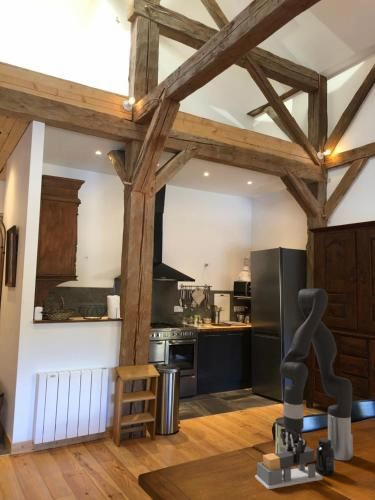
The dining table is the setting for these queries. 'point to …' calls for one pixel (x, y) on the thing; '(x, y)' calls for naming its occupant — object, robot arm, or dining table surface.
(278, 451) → the coffee can
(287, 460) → the grey orange bar
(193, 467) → the dining table surface
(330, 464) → the supplement bottle
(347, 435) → the robot arm
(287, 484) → the white grey holder tray
